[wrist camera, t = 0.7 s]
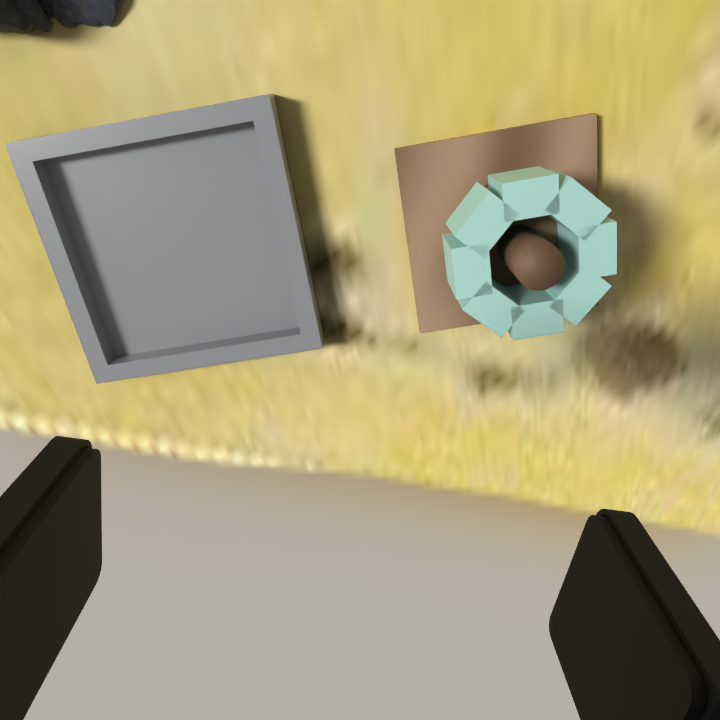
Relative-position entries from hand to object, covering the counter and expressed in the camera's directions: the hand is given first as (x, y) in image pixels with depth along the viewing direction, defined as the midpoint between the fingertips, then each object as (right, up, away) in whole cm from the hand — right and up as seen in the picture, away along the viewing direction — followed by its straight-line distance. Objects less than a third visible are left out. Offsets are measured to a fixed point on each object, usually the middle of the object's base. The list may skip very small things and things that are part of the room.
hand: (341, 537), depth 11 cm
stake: (+8, +10, +21) cm, 25 cm away
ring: (+8, +9, +17) cm, 21 cm away
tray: (-9, +10, +21) cm, 25 cm away
